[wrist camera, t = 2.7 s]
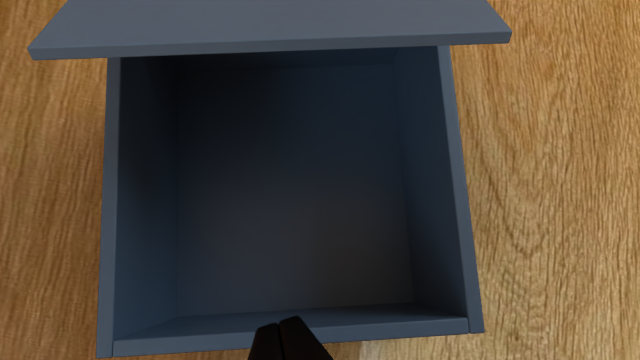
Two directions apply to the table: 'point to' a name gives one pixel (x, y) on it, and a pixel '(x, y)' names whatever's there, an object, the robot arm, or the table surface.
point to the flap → (260, 26)
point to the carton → (283, 200)
